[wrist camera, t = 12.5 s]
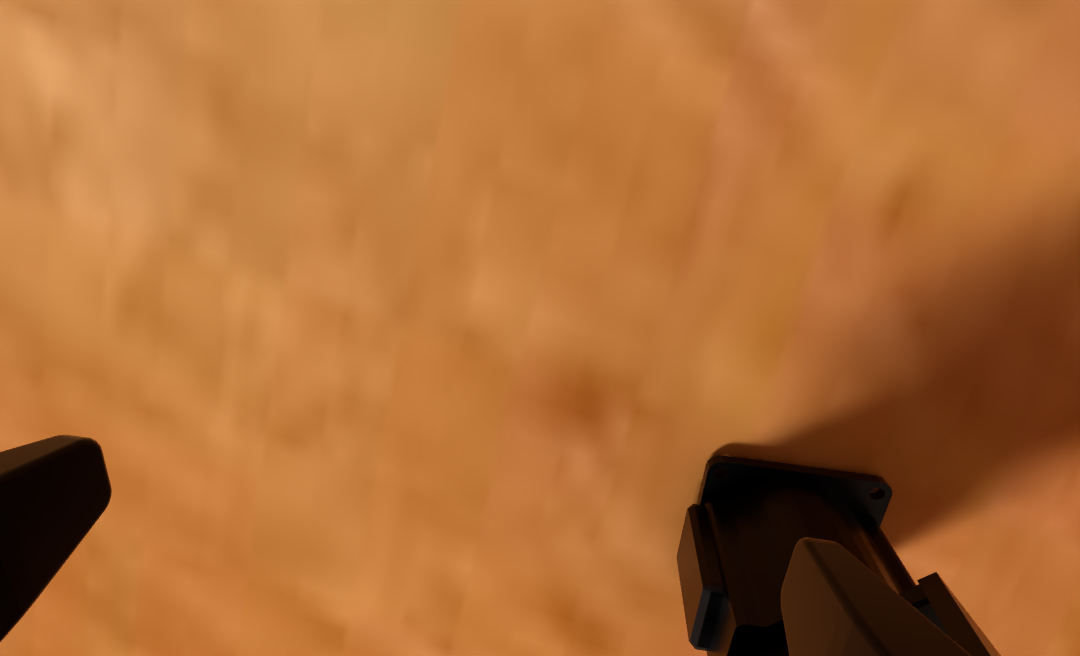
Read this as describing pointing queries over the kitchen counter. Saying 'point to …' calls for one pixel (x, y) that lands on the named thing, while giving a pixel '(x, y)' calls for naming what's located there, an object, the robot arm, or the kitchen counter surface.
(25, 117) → the kitchen counter surface
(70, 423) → the kitchen counter surface
